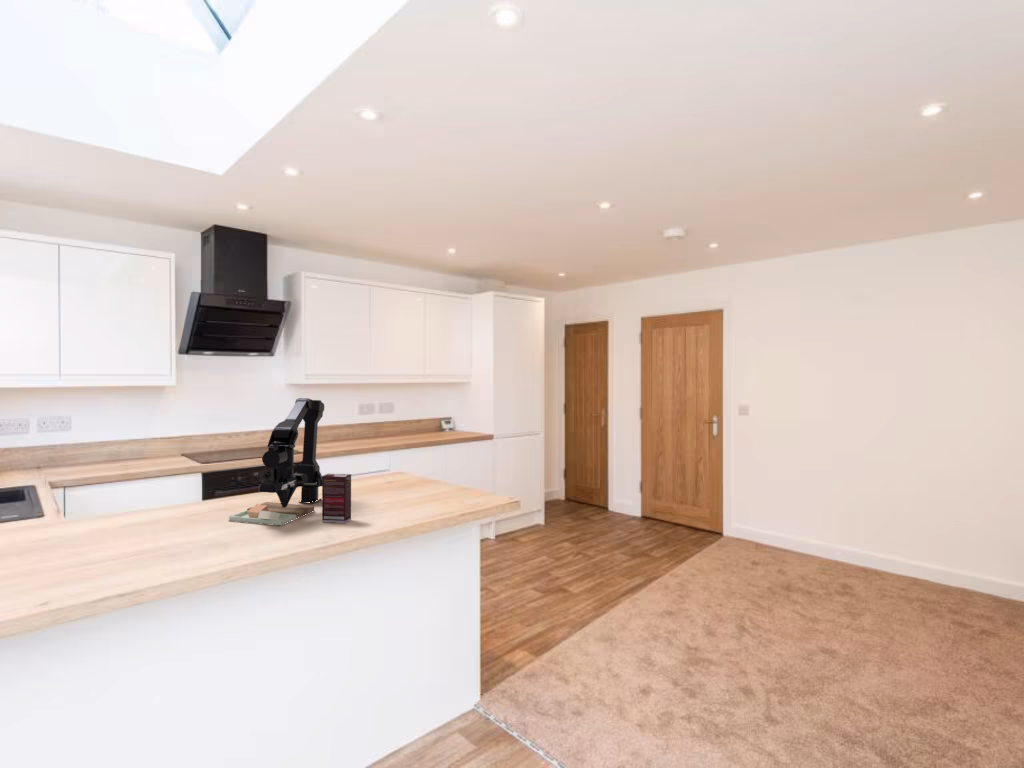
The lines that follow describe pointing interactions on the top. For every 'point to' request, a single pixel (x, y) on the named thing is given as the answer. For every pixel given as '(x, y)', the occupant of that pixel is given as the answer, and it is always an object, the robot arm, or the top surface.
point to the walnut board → (289, 508)
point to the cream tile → (268, 515)
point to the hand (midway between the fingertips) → (284, 507)
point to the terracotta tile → (257, 510)
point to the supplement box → (336, 498)
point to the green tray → (245, 518)
